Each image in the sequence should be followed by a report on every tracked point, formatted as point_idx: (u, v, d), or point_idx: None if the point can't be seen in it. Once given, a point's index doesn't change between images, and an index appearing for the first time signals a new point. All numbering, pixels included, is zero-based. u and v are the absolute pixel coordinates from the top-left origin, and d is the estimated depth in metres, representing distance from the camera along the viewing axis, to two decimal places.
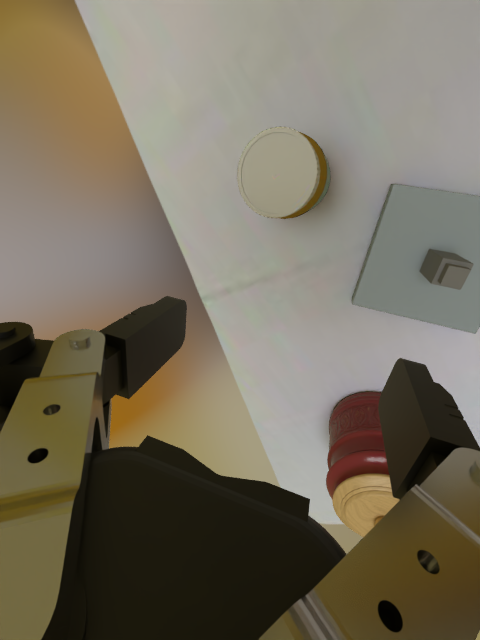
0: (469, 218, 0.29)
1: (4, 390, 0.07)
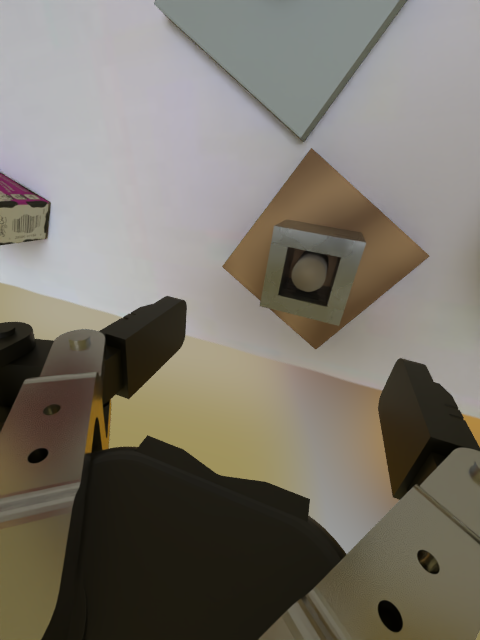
0: (341, 22, 0.18)
1: (4, 390, 0.07)
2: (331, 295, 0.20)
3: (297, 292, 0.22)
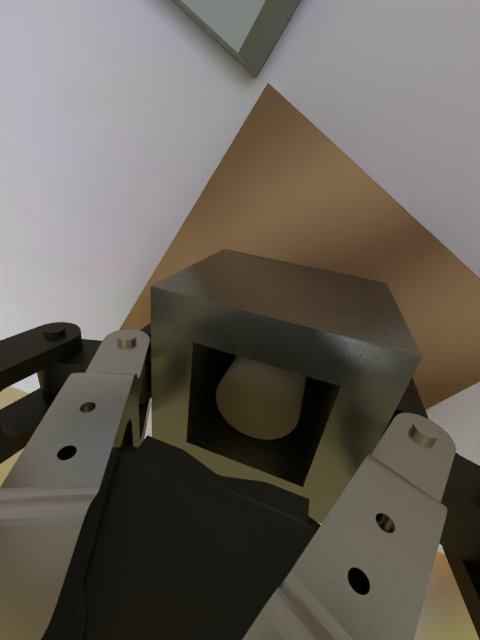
0: None
1: (54, 388, 0.08)
2: (314, 467, 0.07)
3: None
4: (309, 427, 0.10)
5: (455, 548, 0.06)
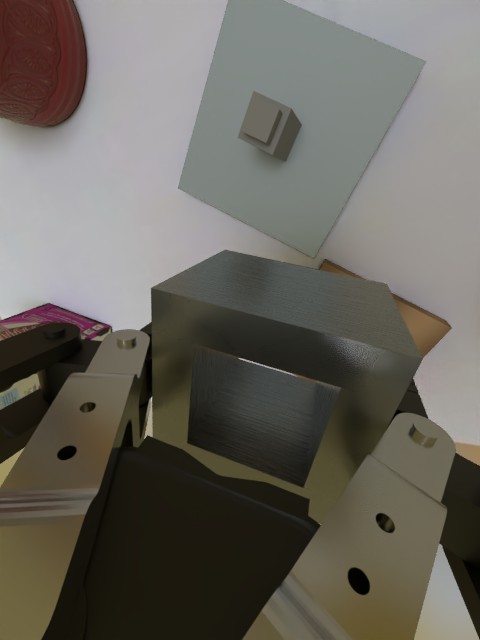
0: (328, 178, 0.22)
1: (54, 388, 0.08)
2: (314, 468, 0.07)
3: (241, 420, 0.10)
4: (309, 428, 0.10)
5: (455, 548, 0.06)
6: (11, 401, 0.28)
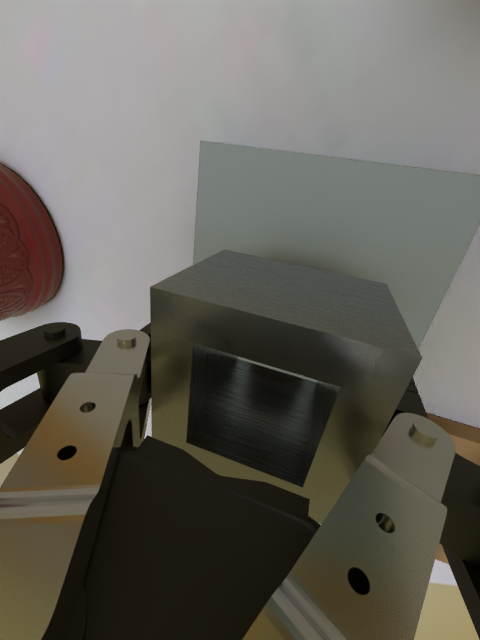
0: None
1: (54, 388, 0.08)
2: (314, 467, 0.07)
3: (241, 420, 0.10)
4: (309, 427, 0.10)
5: (456, 548, 0.06)
6: None
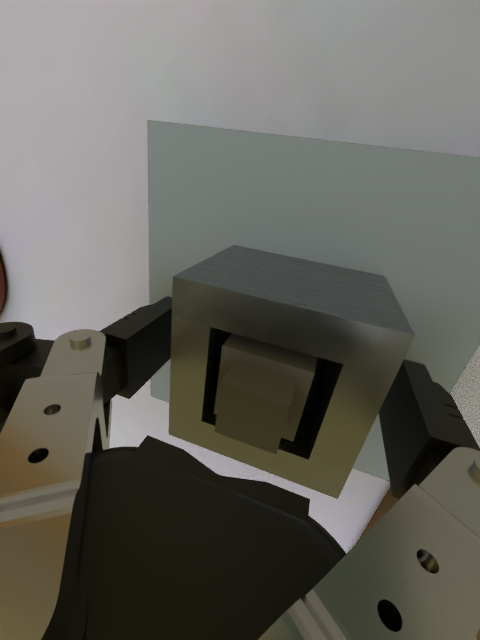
0: None
1: (5, 390, 0.07)
2: (319, 440, 0.08)
3: None
4: (313, 409, 0.11)
5: None
6: None
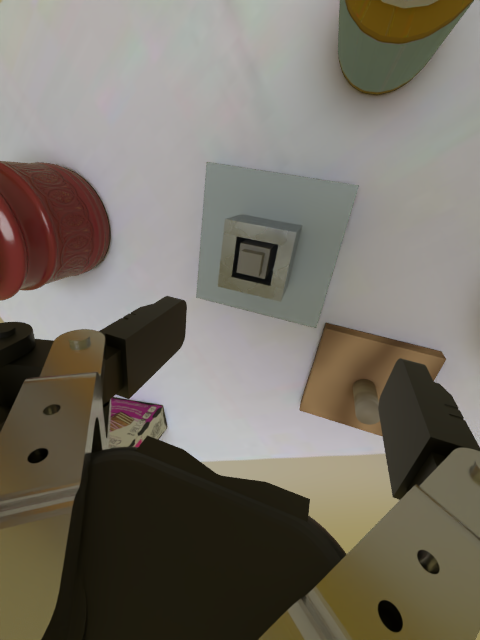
0: (310, 270, 0.28)
1: (4, 390, 0.07)
2: (273, 276, 0.24)
3: (249, 275, 0.27)
4: None
5: None
6: None
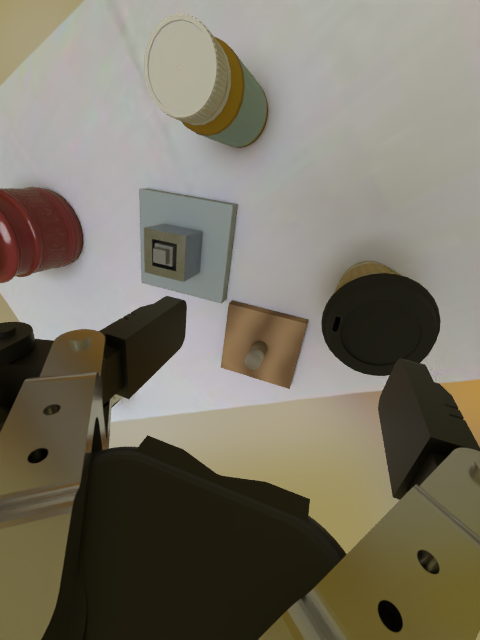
0: (212, 262, 0.41)
1: (4, 390, 0.07)
2: (176, 264, 0.37)
3: (166, 265, 0.40)
4: None
5: None
6: None
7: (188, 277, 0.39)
